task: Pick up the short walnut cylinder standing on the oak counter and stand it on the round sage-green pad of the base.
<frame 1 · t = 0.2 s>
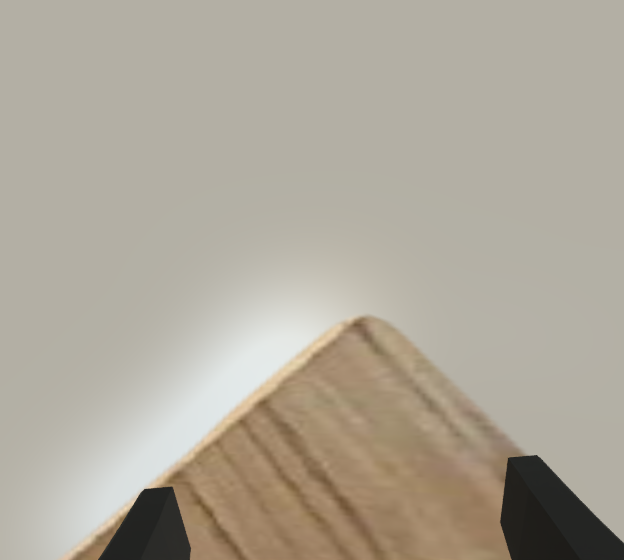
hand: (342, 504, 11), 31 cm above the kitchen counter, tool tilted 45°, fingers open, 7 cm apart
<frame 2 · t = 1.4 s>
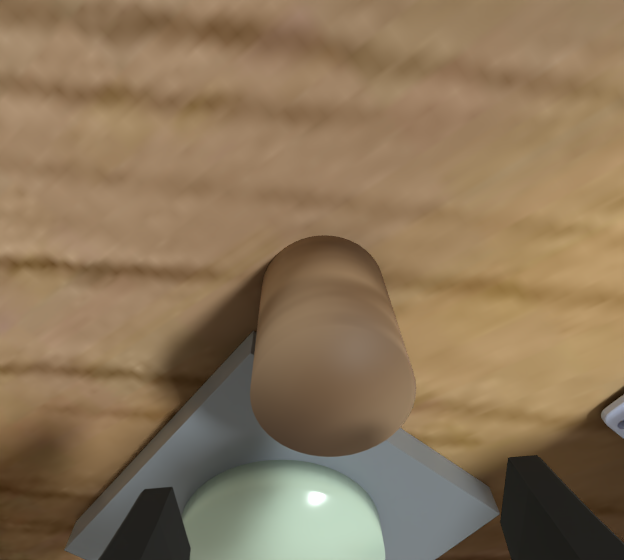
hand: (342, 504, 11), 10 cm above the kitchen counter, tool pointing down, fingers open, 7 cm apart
base: (281, 504, 25), on the kitchen counter
walnut cylinder: (322, 291, 20), on the kitchen counter
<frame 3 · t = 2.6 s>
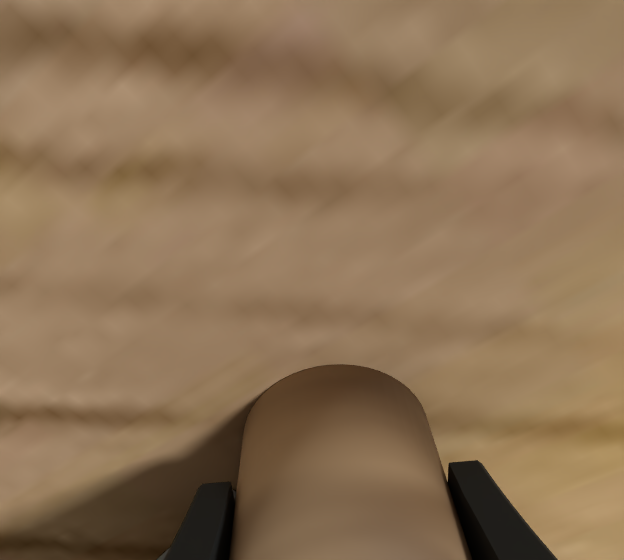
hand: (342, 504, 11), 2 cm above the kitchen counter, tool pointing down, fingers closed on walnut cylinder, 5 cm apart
walnut cylinder: (335, 439, 13), on the kitchen counter, touching gripper
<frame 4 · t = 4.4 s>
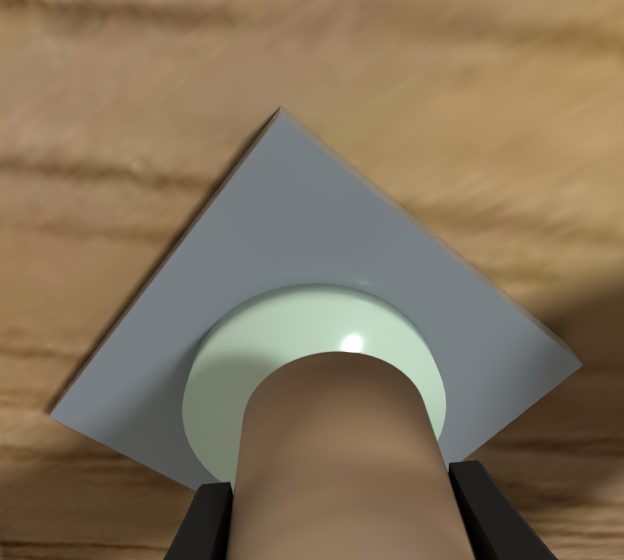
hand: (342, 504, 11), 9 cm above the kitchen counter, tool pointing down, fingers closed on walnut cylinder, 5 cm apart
base: (312, 366, 21), on the kitchen counter
walnut cylinder: (334, 427, 13), point 7 cm above the kitchen counter, touching gripper
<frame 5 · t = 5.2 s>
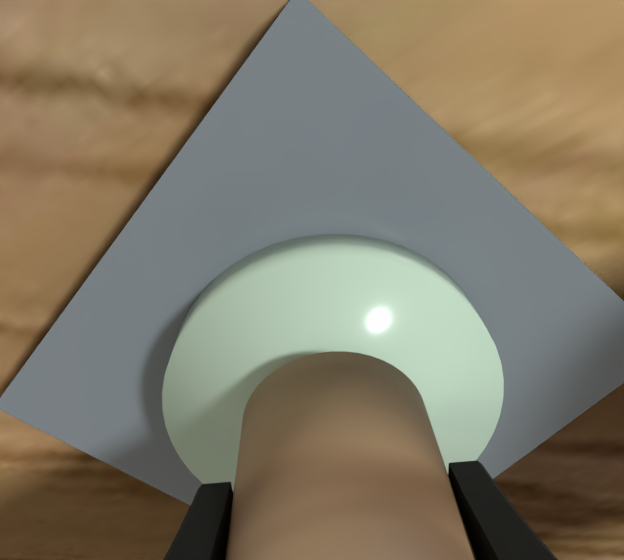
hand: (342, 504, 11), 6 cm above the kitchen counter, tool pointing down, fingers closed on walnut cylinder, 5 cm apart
base: (327, 347, 17), on the kitchen counter
walnut cylinder: (334, 427, 13), point 4 cm above the kitchen counter, touching gripper
when the fingers open (6 cm above the kitchen counter, at t = 6.1 s): walnut cylinder stays where it is, resting on base.
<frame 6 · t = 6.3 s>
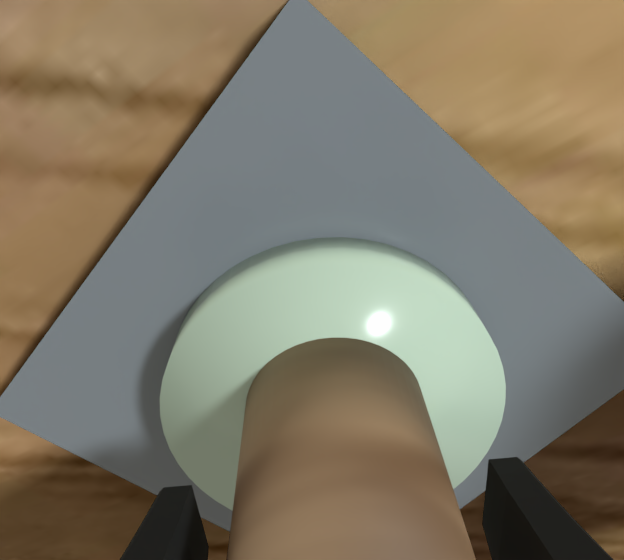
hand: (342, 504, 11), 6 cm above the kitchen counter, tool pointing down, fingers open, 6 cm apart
base: (327, 351, 16), on the kitchen counter
walnut cylinder: (334, 411, 14), point 3 cm above the kitchen counter, touching base
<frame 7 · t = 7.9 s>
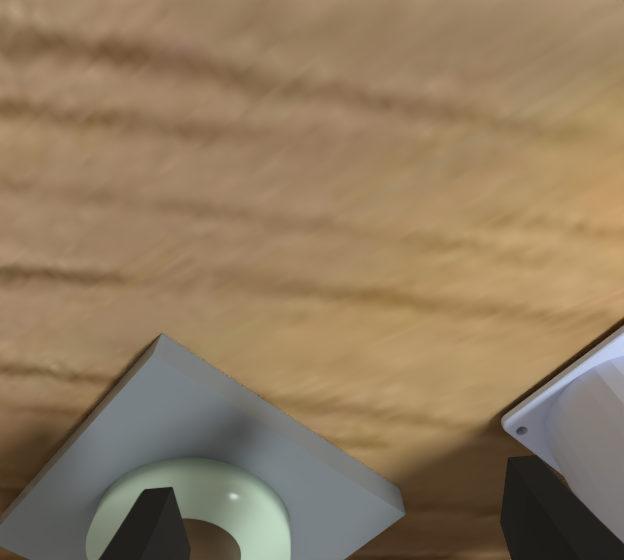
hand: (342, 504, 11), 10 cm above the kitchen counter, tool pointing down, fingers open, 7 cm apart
base: (200, 501, 26), on the kitchen counter
walnut cylinder: (188, 553, 23), point 3 cm above the kitchen counter, touching base
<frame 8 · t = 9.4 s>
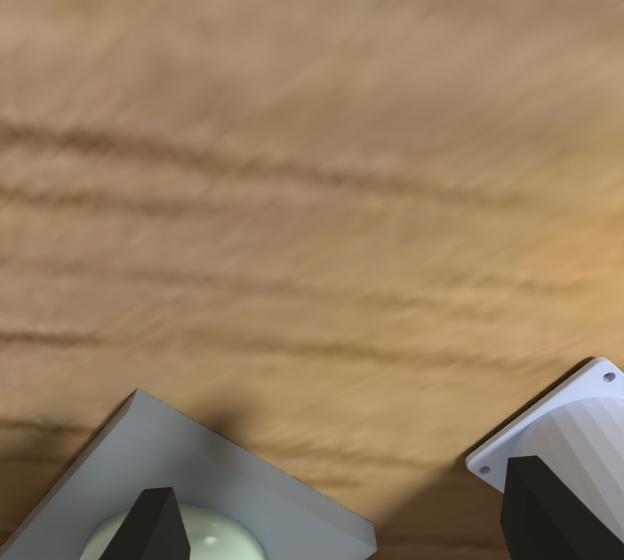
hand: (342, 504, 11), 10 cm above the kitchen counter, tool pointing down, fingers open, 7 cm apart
base: (183, 539, 27), on the kitchen counter
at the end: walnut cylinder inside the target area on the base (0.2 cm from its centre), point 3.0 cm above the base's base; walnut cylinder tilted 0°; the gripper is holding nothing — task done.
